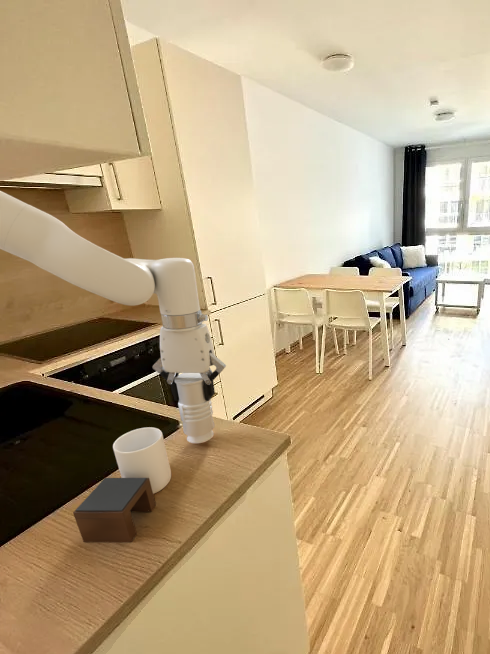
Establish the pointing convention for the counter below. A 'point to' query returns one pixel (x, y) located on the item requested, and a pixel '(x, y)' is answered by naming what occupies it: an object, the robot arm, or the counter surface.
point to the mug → (143, 457)
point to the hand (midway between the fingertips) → (194, 397)
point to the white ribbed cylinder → (194, 408)
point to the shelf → (114, 509)
